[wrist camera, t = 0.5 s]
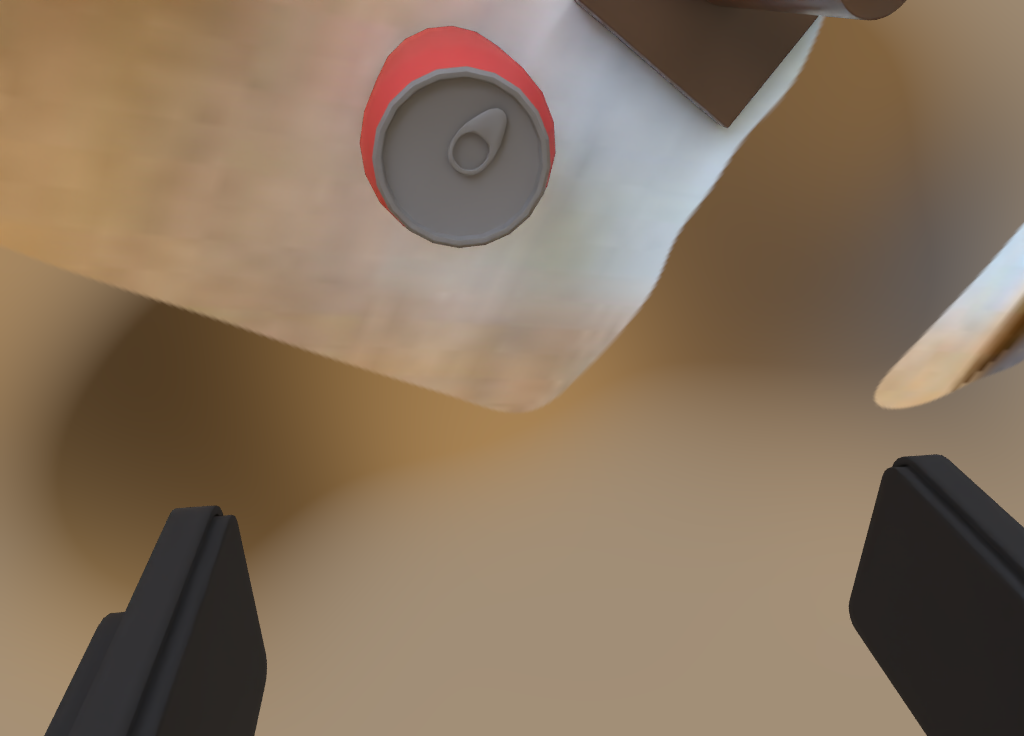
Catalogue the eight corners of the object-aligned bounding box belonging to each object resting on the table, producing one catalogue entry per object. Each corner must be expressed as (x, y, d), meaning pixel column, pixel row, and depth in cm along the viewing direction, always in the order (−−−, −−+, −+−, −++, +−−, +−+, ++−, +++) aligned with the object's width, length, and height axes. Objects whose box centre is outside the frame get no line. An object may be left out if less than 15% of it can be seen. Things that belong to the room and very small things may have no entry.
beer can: (551, 94, 34) (610, 146, 24) (460, 206, 36) (478, 301, 26) (434, -10, 32) (443, -4, 21) (344, 116, 34) (311, 179, 23)
